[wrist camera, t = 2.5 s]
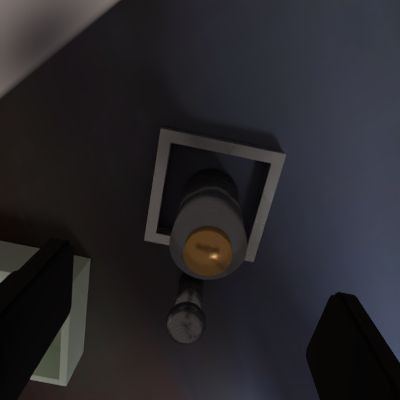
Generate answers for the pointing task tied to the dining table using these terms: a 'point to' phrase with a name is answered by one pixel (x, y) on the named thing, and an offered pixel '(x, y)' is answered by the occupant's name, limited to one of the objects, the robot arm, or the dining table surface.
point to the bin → (73, 326)
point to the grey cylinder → (209, 227)
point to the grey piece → (188, 286)
